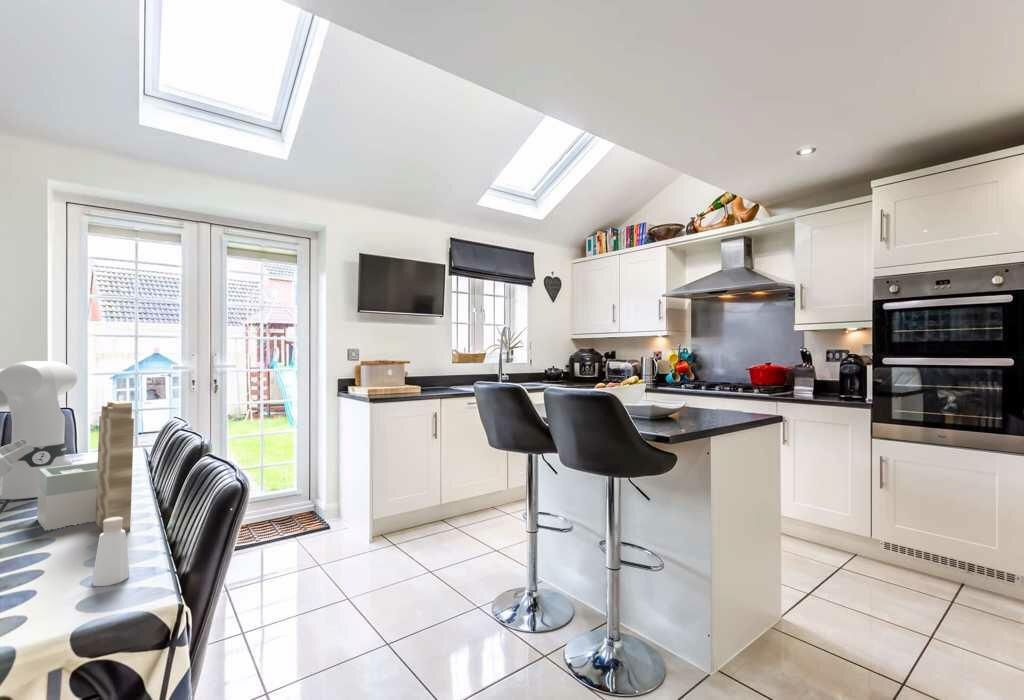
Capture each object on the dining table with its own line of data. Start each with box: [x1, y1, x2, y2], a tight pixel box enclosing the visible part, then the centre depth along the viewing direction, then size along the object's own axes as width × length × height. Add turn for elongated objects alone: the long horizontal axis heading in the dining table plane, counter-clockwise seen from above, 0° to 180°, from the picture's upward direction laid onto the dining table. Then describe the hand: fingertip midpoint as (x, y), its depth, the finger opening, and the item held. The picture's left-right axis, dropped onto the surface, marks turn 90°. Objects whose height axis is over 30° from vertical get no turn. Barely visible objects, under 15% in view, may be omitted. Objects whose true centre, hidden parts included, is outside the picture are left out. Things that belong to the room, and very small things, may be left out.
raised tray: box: [36, 461, 98, 532], centre depth 118 cm, size 12×16×12 cm
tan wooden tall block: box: [95, 400, 135, 532], centre depth 112 cm, size 12×4×30 cm, turn 52°
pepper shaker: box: [91, 517, 130, 587], centre depth 85 cm, size 5×5×11 cm
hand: (28, 443), depth 110 cm, fingers open, 8 cm apart
